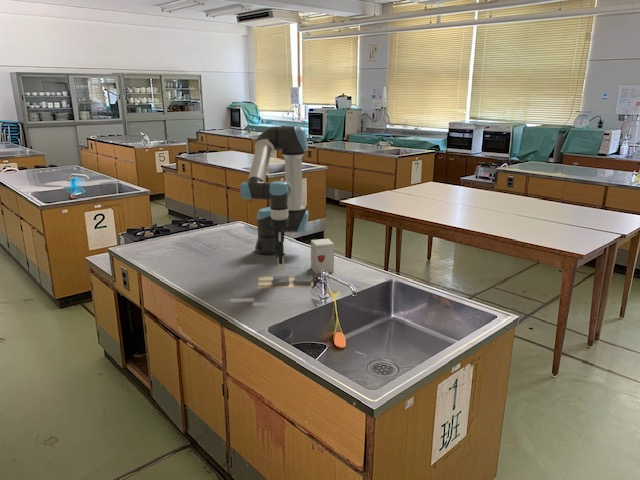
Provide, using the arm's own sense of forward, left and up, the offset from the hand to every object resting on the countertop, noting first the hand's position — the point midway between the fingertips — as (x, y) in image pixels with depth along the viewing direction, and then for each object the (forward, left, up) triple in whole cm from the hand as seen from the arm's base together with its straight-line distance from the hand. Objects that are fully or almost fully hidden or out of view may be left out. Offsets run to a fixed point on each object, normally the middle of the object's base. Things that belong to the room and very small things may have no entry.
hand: (280, 270), depth 216 cm
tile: (-1, 0, -4) cm, 4 cm away
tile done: (+3, +10, -5) cm, 11 cm away
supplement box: (-12, +19, -6) cm, 23 cm away
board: (+2, +2, -6) cm, 7 cm away
